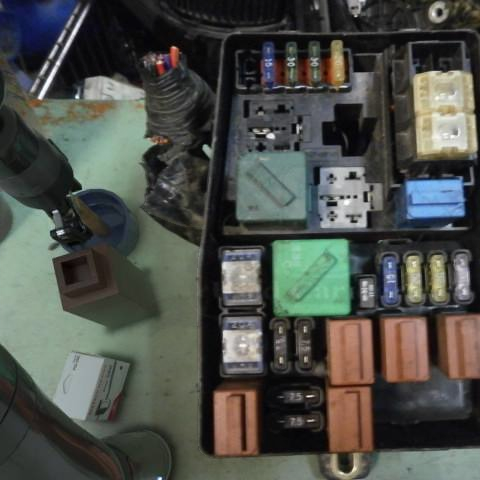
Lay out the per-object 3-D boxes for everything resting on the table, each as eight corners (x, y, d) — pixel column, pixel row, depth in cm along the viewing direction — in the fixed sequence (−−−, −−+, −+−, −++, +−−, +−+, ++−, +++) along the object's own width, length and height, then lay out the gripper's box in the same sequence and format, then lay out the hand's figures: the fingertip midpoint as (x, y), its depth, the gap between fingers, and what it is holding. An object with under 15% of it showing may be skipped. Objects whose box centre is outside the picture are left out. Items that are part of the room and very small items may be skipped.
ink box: (114, 420, 80) (84, 424, 69) (82, 413, 80) (47, 416, 69) (131, 362, 82) (105, 356, 71) (100, 355, 83) (69, 349, 71)
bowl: (146, 254, 87) (137, 244, 82) (77, 275, 86) (63, 267, 81) (130, 192, 90) (120, 179, 85) (63, 212, 89) (48, 200, 83)
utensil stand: (155, 314, 85) (111, 288, 64) (111, 328, 84) (52, 306, 64) (144, 272, 86) (98, 235, 66) (101, 286, 86) (40, 252, 65)
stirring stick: (110, 235, 87) (77, 205, 74) (99, 238, 87) (63, 209, 74) (108, 225, 88) (74, 193, 74) (97, 228, 88) (61, 197, 74)
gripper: (-18, 121, 64) (45, 176, 80) (4, 231, 60) (65, 266, 76) (46, 104, 65) (96, 162, 81) (71, 212, 61) (118, 250, 77)
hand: (81, 212), depth 78 cm, fingers open, 7 cm apart
